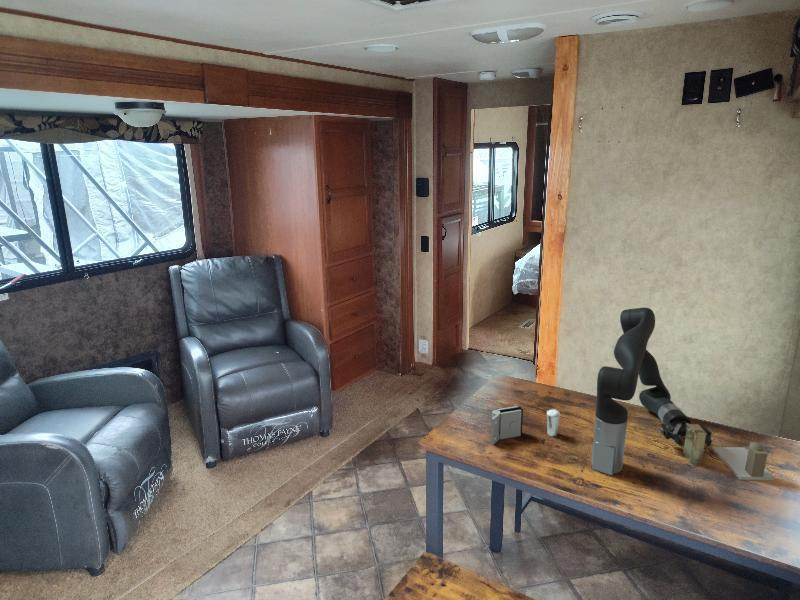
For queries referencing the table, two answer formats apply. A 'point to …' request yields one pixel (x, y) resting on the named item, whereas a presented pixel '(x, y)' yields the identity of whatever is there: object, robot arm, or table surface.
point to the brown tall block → (694, 444)
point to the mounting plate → (745, 461)
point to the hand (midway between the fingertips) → (695, 443)
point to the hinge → (506, 423)
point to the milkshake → (552, 422)
